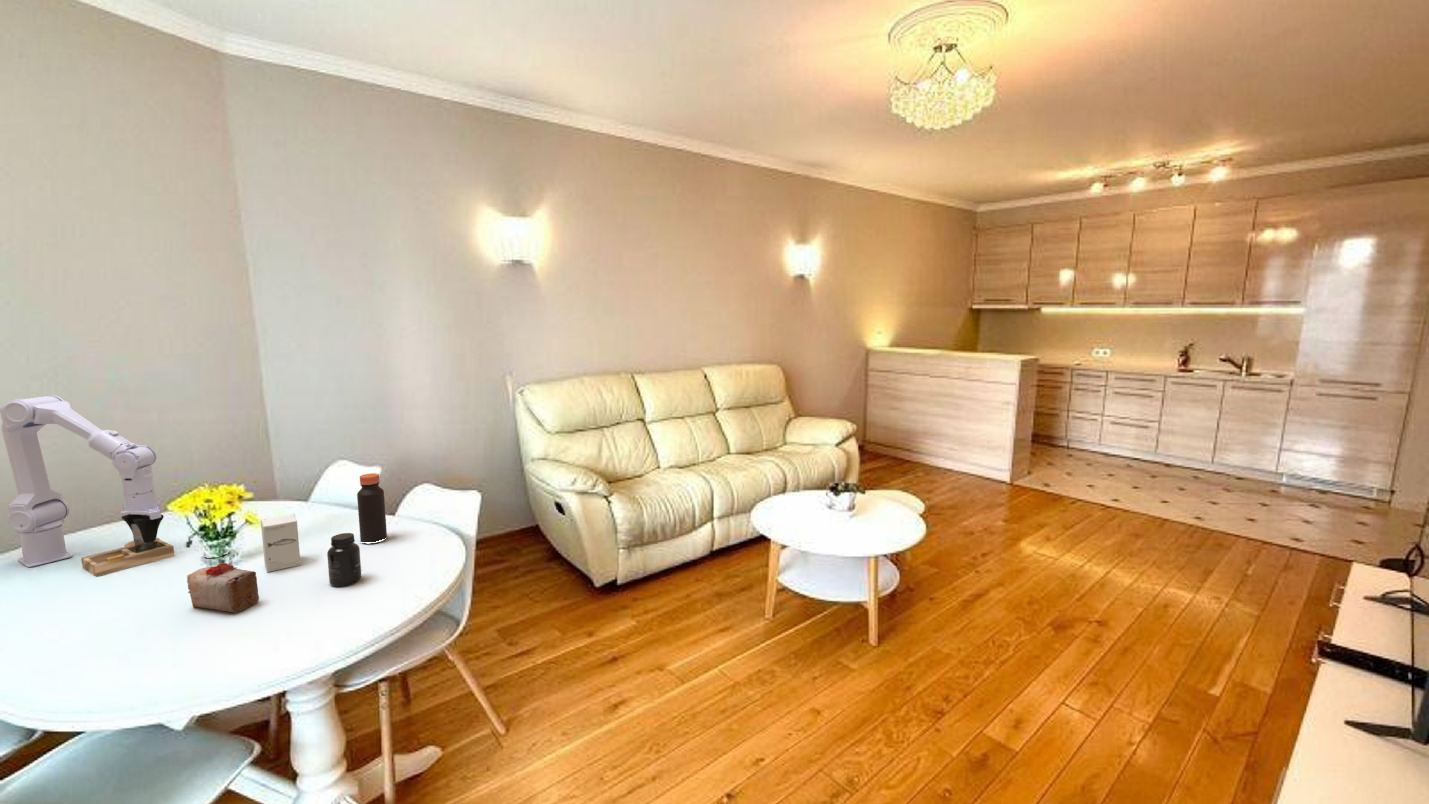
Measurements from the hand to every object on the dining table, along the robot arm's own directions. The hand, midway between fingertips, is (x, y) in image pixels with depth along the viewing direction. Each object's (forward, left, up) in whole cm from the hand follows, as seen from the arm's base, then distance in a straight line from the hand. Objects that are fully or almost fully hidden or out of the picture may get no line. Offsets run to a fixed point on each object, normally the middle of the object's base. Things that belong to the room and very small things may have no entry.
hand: (145, 540), depth 153 cm
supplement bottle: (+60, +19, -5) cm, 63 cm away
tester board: (0, -4, -5) cm, 6 cm away
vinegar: (+40, +38, -5) cm, 55 cm away
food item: (+48, -1, -5) cm, 49 cm away
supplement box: (+36, +16, -5) cm, 40 cm away
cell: (0, 0, -3) cm, 3 cm away
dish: (-8, +1, -5) cm, 9 cm away
